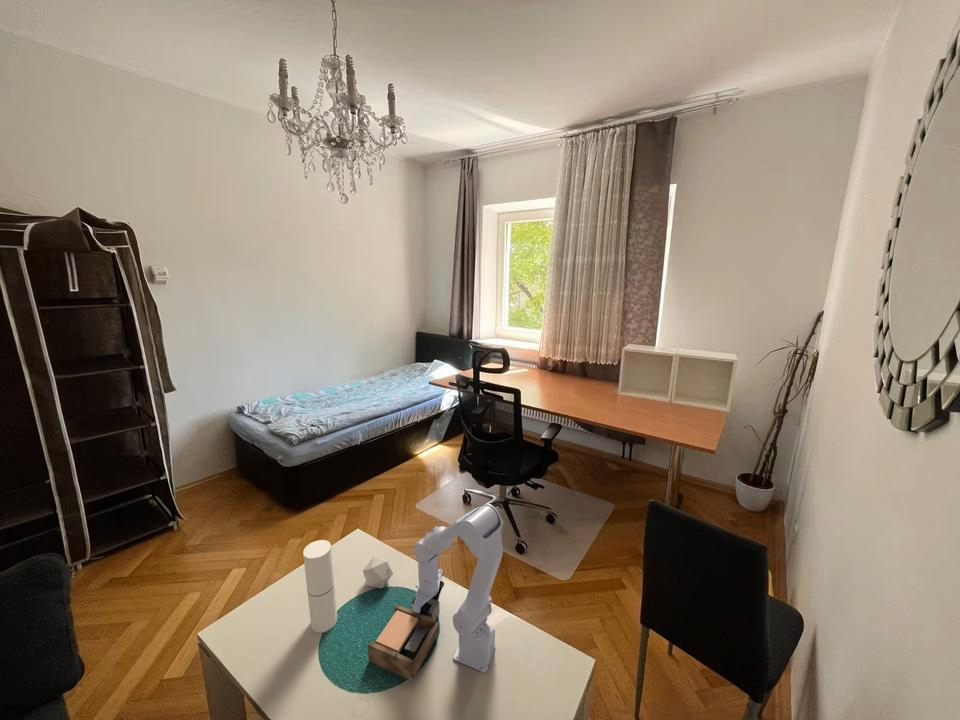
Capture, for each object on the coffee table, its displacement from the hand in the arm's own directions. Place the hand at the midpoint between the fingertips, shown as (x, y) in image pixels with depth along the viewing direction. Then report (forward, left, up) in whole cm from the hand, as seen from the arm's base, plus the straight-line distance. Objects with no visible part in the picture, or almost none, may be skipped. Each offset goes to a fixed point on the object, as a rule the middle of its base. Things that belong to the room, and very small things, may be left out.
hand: (428, 612), depth 112 cm
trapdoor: (+2, +11, +2) cm, 11 cm away
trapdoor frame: (+1, +11, -1) cm, 11 cm away
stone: (0, 0, -2) cm, 2 cm away
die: (+22, -5, -2) cm, 22 cm away
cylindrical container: (+28, +13, -2) cm, 31 cm away
